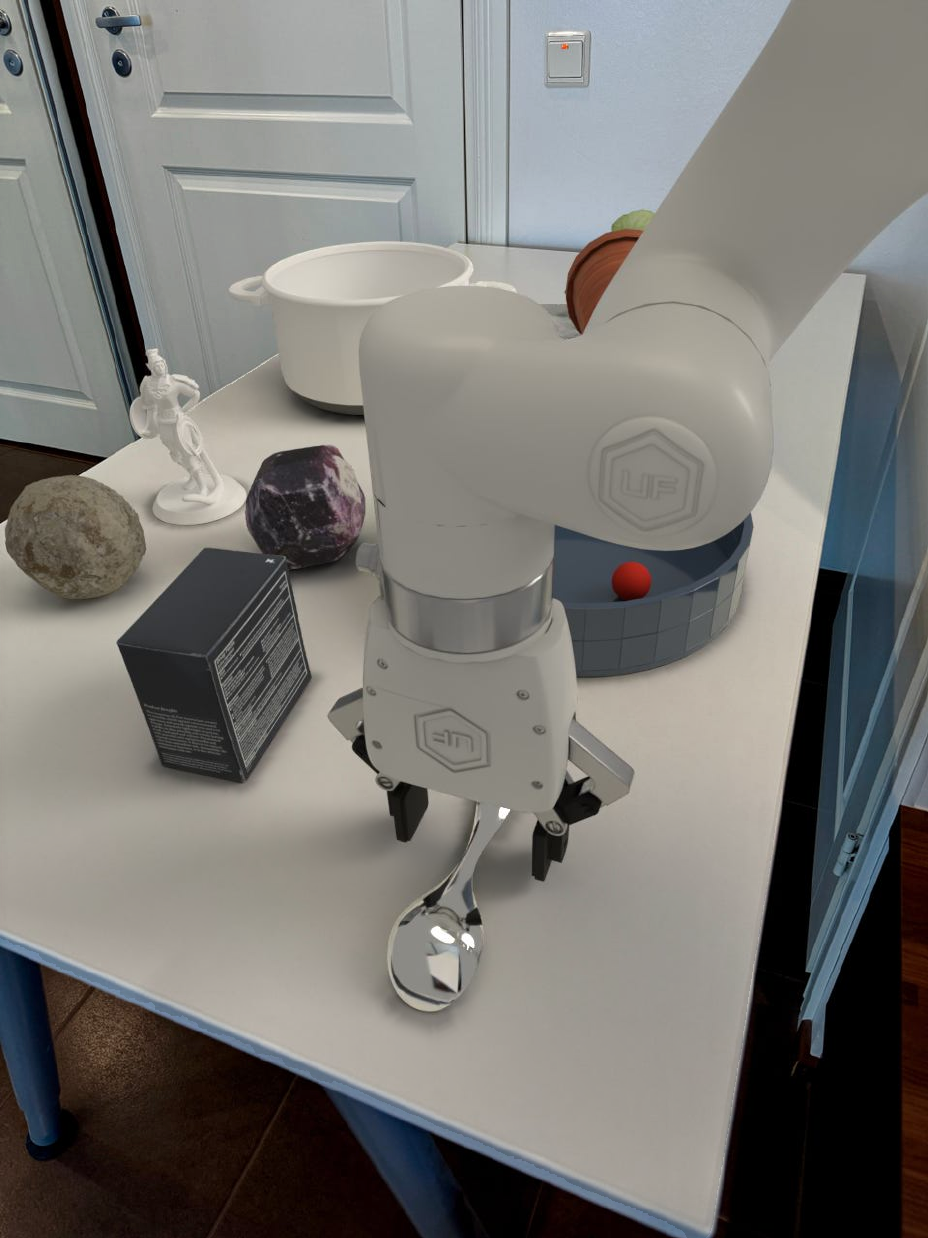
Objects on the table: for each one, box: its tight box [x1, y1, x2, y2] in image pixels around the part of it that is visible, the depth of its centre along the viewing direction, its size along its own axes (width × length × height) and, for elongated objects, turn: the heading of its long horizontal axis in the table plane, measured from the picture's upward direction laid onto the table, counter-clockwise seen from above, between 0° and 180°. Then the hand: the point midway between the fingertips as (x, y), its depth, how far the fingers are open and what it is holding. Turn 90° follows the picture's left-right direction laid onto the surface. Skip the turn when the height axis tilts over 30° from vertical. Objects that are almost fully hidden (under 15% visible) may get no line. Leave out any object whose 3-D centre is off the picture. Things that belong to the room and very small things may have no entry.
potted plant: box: [563, 208, 655, 335], centre depth 112 cm, size 16×15×35 cm
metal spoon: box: [386, 802, 512, 1012], centre depth 49 cm, size 20×4×5 cm
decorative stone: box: [4, 474, 147, 600], centre depth 70 cm, size 10×8×10 cm
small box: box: [116, 547, 312, 783], centre depth 56 cm, size 11×6×10 cm, turn 164°
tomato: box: [612, 562, 651, 601], centre depth 67 cm, size 3×3×3 cm
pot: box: [228, 240, 518, 416], centre depth 100 cm, size 33×23×14 cm
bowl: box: [553, 512, 754, 678], centre depth 70 cm, size 26×26×6 cm
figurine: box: [129, 347, 248, 526], centre depth 79 cm, size 9×9×15 cm
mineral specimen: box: [244, 444, 366, 571], centre depth 73 cm, size 10×10×10 cm
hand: (477, 840), depth 50 cm, fingers open, 7 cm apart
